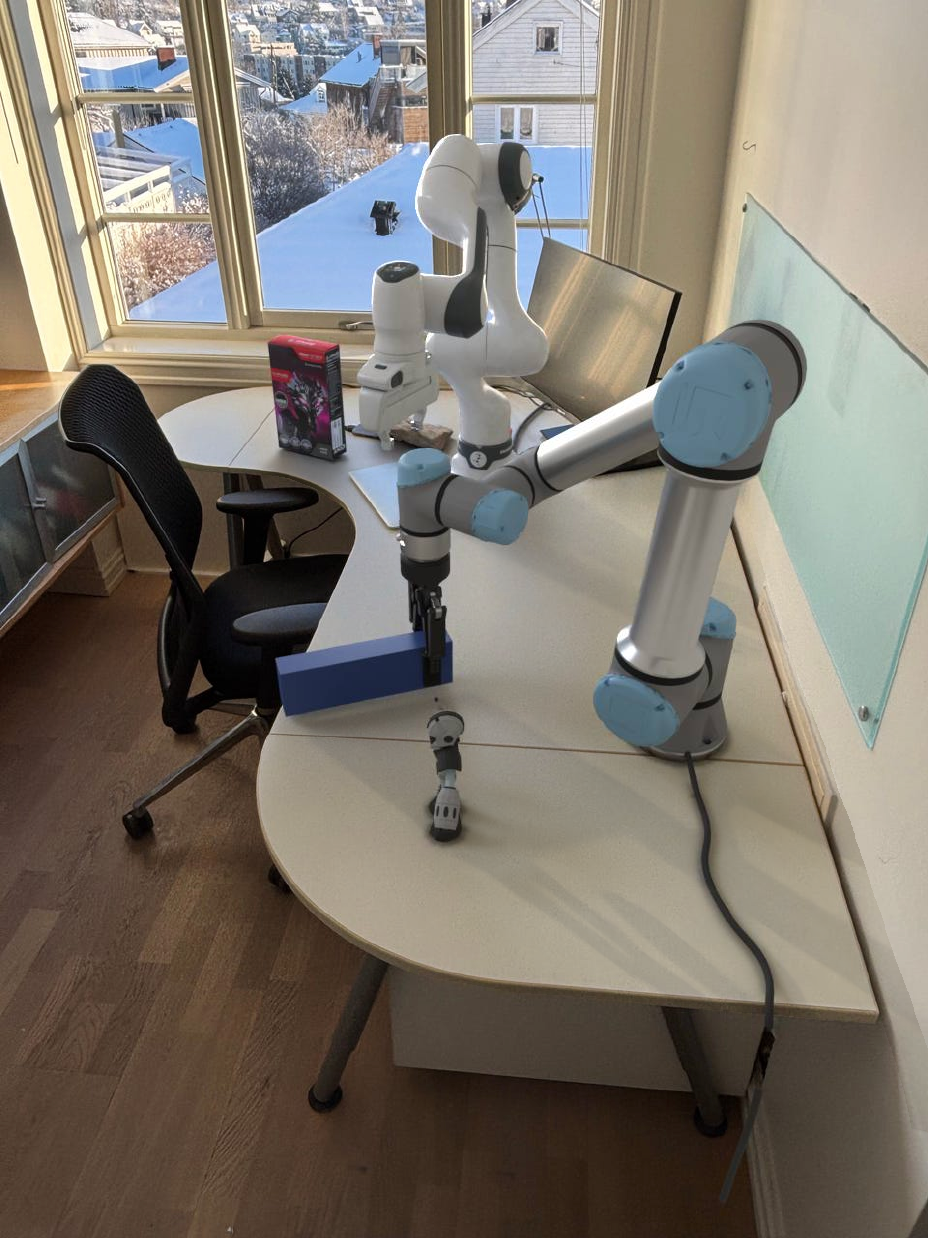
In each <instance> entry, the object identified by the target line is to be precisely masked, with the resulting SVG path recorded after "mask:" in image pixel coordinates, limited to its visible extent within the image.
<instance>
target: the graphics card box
mask: <svg viewBox="0 0 928 1238" xmlns="http://www.w3.org/2000/svg"><path fill="white" fill-rule="evenodd" d="M340 347H341V346H340V343H335V342H333V343H332V342H328V341H322V340H317V339H311V338H306V337H300V336H295V335H289V334H285V333H282V334H279V335H277V336H274V337H273V338H271V339H270V340H268V341H267V351H268V359H269V367H270V369H269V370H270V377H271V378H270V379H271V385H272V386H271V387H272V395H273V403H274V412H275V413H274V414H275V423H276V433H277V441H278V442H277V443H278V448H279V449H283V450H287V451H288V450H289V451H292V452H297V453H301V454H305V455H309V456H314V457H317V458H322V459H326V460H330V461H333V460H335V459H337V458H339V457H340V456H342V455H344V454H345V453H347V451H348V449H347V447H348V446H347V434H346V420H345V407H344V406H345V405H344V393H343V380H342V364H341V363H342V362H341V349H340Z"/></svg>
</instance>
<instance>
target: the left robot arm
mask: <svg viewBox="0 0 928 1238" xmlns="http://www.w3.org/2000/svg"><path fill="white" fill-rule="evenodd" d="M532 182H533V164H532V160H531V155H530V153H529V151H528V150H527V148H526V147H525V146H524V145H523V144H522V143H519V142H514V141H504V142H503V143H499V142H490V143H476V142H475V141H474V140H473V139H472V138H470V137H469V136H467V135H464V134H458V133H457V134H454V133H453V134H449V135H446V136H444V137H443V138H441V139H440V140H439V141H438V142H437V144H436V145H435V147H434V148H433V149H432V152H431V154H430V155H429V157H428V158H427V160H426V161H425V163H424V165H423V168H422V174H421V177H420V179H419V182H418V186H417V189H416V194H415V202H414V203H415V210H416V214H417V217H418V219H419V221H420V222H421V224H422V225H423V227H424V228H425V229H426V230H427V231H428V232H429V233H430V234H432V235H433V236H434V237H436V238H437V239H440V240H443V241H446V242H448V243H451V244H453V245H456V246H457V247H459V248H461V249H462V250H463V257H462V258H463V261H462V265H463V266H462V273H460V274H456V275H441V274H440V275H439V274H429V273H421V269H420V267H419V266H418V265H417V264H415V263H414V262H411V261H408V260H407V261H406V260H393V261H389V262H386V263H382V265H380V266H378V267H377V268H376V270H375V272H374V276H373V282H372V291H371V292H372V293H371V294H372V295H371V296H372V297H371V316H372V317H371V318H372V325H373V327H374V333H375V337H374V341H373V354H372V355H370V358H369V359H368V360H367V362H366V363H365V364H364V365H363V366H362V368H361V369H360V370H359V371H358V372H357V374H356V383H357V384H358V385H360V386H361V388H360V390H359V393H358V415H359V423H360V426H361V428H362V430H364V432H367V433H370V434H371V433H372V434H376V435H377V436H378V438H379V440H380V446H381V447H380V448H381V449H382V450H383V451H387V452H388V451H391V450H392V449H394V448H395V439H394V438H392V437H391V435H389V433H390V432H391V428H390V427H392V426H394V425H396V424H397V423H399V422H401V421H402V420H404V419H406V418H408V417H409V418H410V417H411V416H413V418H412V419H413V421H412V422H411V431H412V432H416V433H418V432H420V431H422V430H423V423H424V422H425V421H424V420H425V417H426V415H427V411H428V406H430V405H432V404H433V403H435V402H437V401H438V399H439V396H440V381H439V375H440V376H441V377H442V378H444V379H445V381H446V382H447V383H448V384H449V385H450V387H451V389H452V391H453V393H454V394H455V396H456V397H455V398H456V400H457V403H458V410H459V434H458V438H457V439H458V440H457V453H456V454H455V455H454V456H452V458H451V464H450V466H451V472H452V473H455V474H458V475H460V476H464V477H467V478H470V479H474V480H481V479H482V478H484V477H485V476H487V475H489V474H490V473H492V472H493V471H495V470H497V469H498V468H499V467H502V466H503V465H505V464H506V463H508V462H509V461H511V460H512V459H514V458H515V457H517V456H518V453H517V452H516V451H514V450H515V448H516V444H517V442H518V441H517V440H518V437H519V435H520V433H521V431H522V429H523V428H524V426H525V425H526V423H528V421H529V420H531V418H532V417H534V415H536V414H537V413H538V412H539V411H541V410H542V409H543V408H544V407H545V406H547V405H549V403H547V402H546V401H545V402H543V403H541V405H539V406H538V407H537V408H535V409H533V411H532V412H531V413H529V414H528V415H527V416H526V417H525V418H524V420H523V421H522V422H521V423H520V425H519V427H518V428H517V429H516V432H515V433H514V436H513V428H512V427H511V424H512V423H511V422H512V405H511V402H510V400H509V399H508V397H507V396H506V395H505V394H504V393H503V392H501V391H500V390H498V389H497V388H494V387H492V386H490V385H489V384H488V383H487V382H486V381H485V379H484V377H485V378H486V377H511V378H512V377H513V378H514V377H515V378H516V377H517V378H518V377H523V376H524V377H525V376H529V375H535V374H538V373H540V371H541V370H542V369H544V367H545V365H546V363H547V361H548V359H549V354H550V343H549V339H548V337H547V334H546V333H545V331H544V329H543V328H542V327H541V326H539V325H538V324H537V323H536V322H535V321H534V320H533V319H532V318H531V317H530V316H529V314H528V313H527V311H526V310H525V308H524V306H523V305H522V302H521V299H520V295H519V291H518V277H517V276H518V275H517V272H518V271H517V269H518V268H517V263H518V261H517V260H518V259H517V258H518V235H517V221H516V215H515V214H516V213H515V211H516V210H518V208H519V207H520V205H521V202H523V201H524V200H525V199H526V197H527V196H528V194H529V192H530V190H531V187H532ZM489 312H490V314H491V317H492V318H491V320H487V319H488V314H489ZM424 333H425V334H427V337H426V340H425V337H424Z"/></svg>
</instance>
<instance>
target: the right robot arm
mask: <svg viewBox="0 0 928 1238" xmlns="http://www.w3.org/2000/svg"><path fill="white" fill-rule="evenodd" d="M807 372H808V362H807V357H806V353H805V349H804V347H803V345H802V344H801V342H800V340H799V338H798V337H796V335H795V334H794V333H793V332H792V330H790V329H788V328H787V327H785V326H783V325H781V324H780V323H777V322H775V321H773V320H767V319H751V320H750V319H749V320H743V321H742V322H738V323H736V324H733V325H732V326H730V327H728V328H726V329H725V330H723V331H722V332H721V333H719V334H718V335H716V336H714V337H713V338H711V339H710V340H709V341H707V342H705V343H704V344H700V345H698V346H696V347H694V348H692V349H691V350H689V351H687V352H686V353H685V354H683V355H682V356H681V357H680V358H679V359H678V360H677V361H676V362H675V363H674V364H673V366H671V367H670V369H668V370H667V372H666V373H665V374H664V376H663V377H662V379H661V380H660V381H658V382H657V383H654V384H652V385H650V386H649V387H647V388H645V389H643V390H641V391H639V392H637V393H634V394H633V395H631V396H629V397H628V398H626V399H624V400H621V401H620V402H617V403H616V404H614V405H612V406H610V407H609V408H606V409H604V410H603V411H601V412H598V413H597V414H595V415H593V416H591V417H589V418H587V419H586V420H584V421H581V422H580V423H578V424H576V425H574V426H572V427H570V428H568V429H566V430H565V431H563V432H561V433H559V434H557V435H555V436H553V437H550V438H549V439H547V440H545V441H544V442H542V443H541V444H536V445H534V446H531V447H528V448H527V449H525V450H524V451H522V452H520V453H518V454H517V457H515V458H514V459H512V460H511V461H509V462H508V463H506V464H505V465H503V466H502V467H499V468H498V469H497V470H495V471H493V472H492V473H490V474H489V475H487V476H485V477H484V478H482V479H481V480H474V479H470V478H467V477H464V476H460V475H458V474H455V473H452V472H451V459H450V456H449V455H448V454H446V453H445V452H444V451H442V450H437V449H432V448H429V447H421V448H415V449H411V450H409V451H407V452H405V453H403V454H402V455H401V456H400V457H399V459H398V462H397V480H396V488H397V501H398V514H399V519H398V522H399V523H398V524H399V525H398V526H399V534H397V535H396V536H395V538H396V541H397V542H399V546H400V547H399V549H400V553H399V561H400V562H399V563H400V573H401V576H402V577H403V579H405V580H406V581H407V595H408V596H407V597H408V621H409V623H410V624H411V630H412V632H417V631H422V630H423V634H424V645H425V652H422V653H421V657H422V658H423V678H424V687H425V688H424V689H427V688H426V687H428V688H432V687H431V686H433V687H437V686H436V685H438V686H442V685H441V658H444V657H446V630H447V629H446V623H447V621H446V619H447V614H448V607H447V605H445V604H443V605H442V597H443V590H442V589H443V588H442V587H441V585H440V584H441V583H442V582H443V581H445V580H446V579H447V578H448V577H449V575H450V574H451V552H450V551H451V548H452V537H451V536H452V533H451V531H452V530H454V531H456V532H459V533H463V534H465V535H467V536H471V537H473V538H476V539H478V540H480V541H483V542H486V543H487V542H489V543H493V544H497V545H500V546H509V545H512V544H514V543H515V542H516V541H518V540H519V538H520V535H521V533H523V532H524V530H525V529H526V526H527V523H528V519H529V512H530V510H531V509H532V508H534V507H535V506H537V505H539V504H541V502H544V501H545V500H548V499H550V498H551V497H553V496H556V495H558V494H560V493H562V492H564V491H566V490H567V489H570V488H573V487H574V486H576V485H578V484H579V485H580V483H583V482H585V481H587V480H590V479H591V478H594V477H596V476H598V475H600V474H603V473H606V472H607V471H609V470H612V469H614V468H616V467H618V466H620V465H623V464H625V463H627V462H630V461H631V460H634V459H635V458H638V457H640V456H643V455H645V454H647V453H649V452H651V451H654V450H655V449H657V451H656V452H657V456H658V459H659V460H660V461H661V463H662V464H663V465H664V466H665V468H666V470H665V471H666V472H665V475H664V476H665V477H664V480H663V485H662V489H661V493H660V498H659V503H658V507H657V511H656V516H655V520H654V525H653V530H652V534H651V537H650V543H649V548H648V551H647V557H646V560H645V565H644V569H643V574H642V578H641V583H640V587H639V591H638V597H637V599H636V600H637V601H636V604H635V610H634V614H633V618H632V622H631V623H630V624H628V625H627V626H625V627H624V628H622V629H621V630H620V632H619V633H618V635H617V637H616V641H615V646H614V649H613V655H612V658H611V662H610V663H611V664H610V666H609V669H608V671H607V672H606V675H603V676H602V677H601V678H600V679H599V680H598V682H597V685H596V686H595V688H594V690H593V693H592V694H593V695H592V703H593V707H594V710H595V713H596V715H597V717H598V718H599V720H601V722H602V723H603V724H604V726H605V728H606V729H608V730H609V732H611V733H612V734H613V735H615V736H616V737H617V738H619V739H620V740H622V741H624V742H626V743H628V744H631V745H633V746H638V747H639V748H640V749H641V750H643V751H645V752H646V753H648V754H650V755H651V756H654V757H656V758H659V759H662V760H666V761H670V762H675V763H686V766H687V771H688V774H689V779H690V784H691V788H692V791H693V792H692V793H693V795H694V799H695V802H696V805H697V807H698V811H699V813H700V816H701V821H702V825H703V826H702V827H703V841H702V846H701V855H700V858H701V859H700V863H701V864H700V865H701V870H702V874H703V878H704V881H705V883H706V886H707V889H708V891H709V893H710V895H711V897H712V899H713V901H714V903H715V904H716V906H717V908H718V909H719V911H720V913H721V914H722V916H723V918H724V919H725V922H727V924H728V925H729V927H730V928H731V929H732V930H733V932H734V933H735V934H736V935H737V936H738V937H739V938H740V940H741V941H742V942H743V943H744V944H745V946H746V947H747V948H748V949H749V950H750V951H751V953H752V954H753V956H754V957H755V959H756V960H757V962H758V964H759V966H760V969H761V971H762V974H763V977H764V984H765V994H764V995H765V996H764V1027H765V1029H766V1030H769V1031H772V1030H773V1029H774V1021H775V1020H774V1016H775V1015H774V1014H775V1013H774V1010H775V982H774V977H773V973H772V971H771V968H770V966H769V963H768V960H767V959H766V957H765V955H764V953H763V952H762V951H761V949H760V947H759V946H758V945H757V944H756V942H754V940H753V939H752V938H751V937H750V936H749V934H748V933H746V931H745V930H744V929H743V928H742V926H740V924H739V923H738V922H737V921H736V919H735V918H734V916H733V915H732V913H731V911H730V910H729V908H728V907H727V905H726V903H725V901H724V900H723V898H722V897H721V894H720V893H719V891H718V889H717V887H716V885H715V883H714V880H713V877H712V874H711V869H710V864H709V863H710V862H709V861H710V859H709V856H710V849H711V842H712V827H711V821H710V817H709V814H708V811H707V808H706V805H705V802H704V800H703V796H702V794H701V791H700V787H699V782H698V778H697V773H696V769H695V766H694V762H700V761H703V760H706V759H709V758H711V757H714V755H716V754H718V752H720V751H721V750H722V748H723V747H724V744H725V743H726V740H727V739H726V738H727V734H728V721H727V716H726V712H725V708H724V707H725V706H724V701H723V692H724V686H725V682H726V678H727V674H728V668H729V664H730V659H731V654H732V651H733V650H732V649H733V645H734V639H735V638H736V636H737V632H736V629H737V617H736V614H735V612H734V611H733V610H732V609H731V608H730V607H729V606H728V605H727V604H726V603H724V602H722V601H721V600H719V599H717V598H714V597H712V591H713V589H714V588H713V587H714V585H715V581H716V578H717V574H718V572H719V567H720V563H721V561H722V558H723V553H724V551H725V547H726V543H727V539H728V536H729V532H730V528H731V524H732V521H733V517H734V514H735V510H736V506H737V503H738V500H739V495H740V492H741V489H742V487H743V486H742V485H743V484H745V483H747V482H748V481H751V480H753V479H755V478H756V477H757V476H759V474H760V472H761V469H762V466H763V462H764V460H765V456H766V452H767V449H768V446H769V443H770V439H771V436H772V433H773V429H774V427H775V425H776V422H777V421H778V420H779V419H780V418H781V417H782V416H783V415H784V414H785V413H786V412H788V410H789V409H790V408H791V407H792V406H793V405H794V404H795V403H796V402H797V400H798V398H799V397H800V395H801V393H802V392H803V389H804V386H805V383H806V381H807V374H808V373H807ZM763 1093H764V1090H763V1089H759V1088H754V1090H753V1094H752V1098H751V1102H750V1106H749V1109H748V1113H747V1117H746V1119H745V1123H744V1126H743V1129H742V1131H741V1135H740V1137H739V1140H738V1143H737V1146H736V1149H735V1151H734V1154H733V1156H732V1159H731V1162H730V1165H729V1166H728V1170H727V1173H726V1176H725V1178H724V1182H723V1185H722V1188H721V1191H720V1194H719V1196H718V1200H719V1202H720V1203H721V1204H726V1202H727V1200H728V1196H729V1193H730V1190H731V1187H732V1185H733V1182H734V1179H735V1177H736V1174H737V1171H738V1168H739V1167H740V1166H739V1165H740V1163H741V1161H742V1157H743V1155H744V1153H745V1150H746V1147H747V1145H748V1142H749V1139H750V1136H751V1134H752V1132H753V1128H754V1125H755V1122H756V1118H757V1115H758V1112H759V1108H760V1105H761V1101H762V1098H763Z"/></svg>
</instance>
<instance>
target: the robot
mask: <svg viewBox="0 0 928 1238" xmlns="http://www.w3.org/2000/svg"><path fill="white" fill-rule="evenodd" d="M433 701H434V703H435V706H436V708H437V712H434V713H433V714H432V715H430V717H429V718H428V720H427V722H426V724H425V727H426V734H427V735H428V738H429V747H430V749H432V753H433V755H434V757H435V759H436V762H435V769H436V775H437V777H438V778H439V783H440V784H439V785H438V789H437V792H436V795H434V797H433V798H432V799H431V801H430V802H429V804H428V809H429V811H430V814H431V815H432V816H433V821H432V824H431V826H430V829H429V832H428V834H429V835H430V836H431V837H432V838H433V839H434V840H435V841H439V842H449V841H452V840H454V839H457V838H459V837H460V835H461V832H462V831H463V827H462V826H463V825H462V817H461V815H460V812H461V810H462V808H461V797H460V793H459V792H460V791H459V790H458V789H457V787H456V781H457V772H462V770H463V766H462V765H463V761H462V755H461V752H460V747H459V743H460V742H461V737H460V736H461V735H463V733H464V732H465V720H464V717H462V715H461V714H460V713H458V712H457V711H454V710H451V709H445V708H444V707H443V705H442V703H441V702H440V699H439V698H438V697H437V696H435V697H434V698H433Z"/></svg>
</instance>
